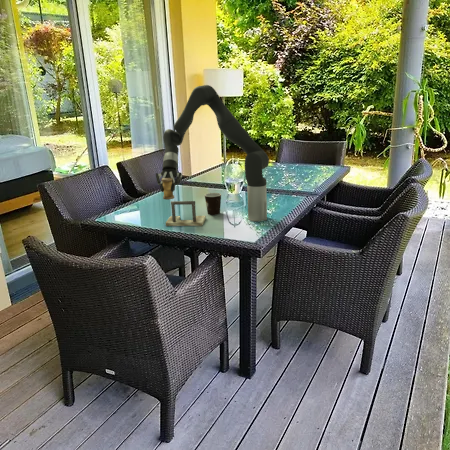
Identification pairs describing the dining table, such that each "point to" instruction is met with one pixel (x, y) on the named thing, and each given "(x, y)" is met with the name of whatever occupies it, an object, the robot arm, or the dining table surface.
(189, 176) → the dining table surface
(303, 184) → the dining table surface
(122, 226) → the dining table surface
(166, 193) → the wooden knob
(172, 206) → the u-shaped handle base
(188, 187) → the dining table surface
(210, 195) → the coffee mug
